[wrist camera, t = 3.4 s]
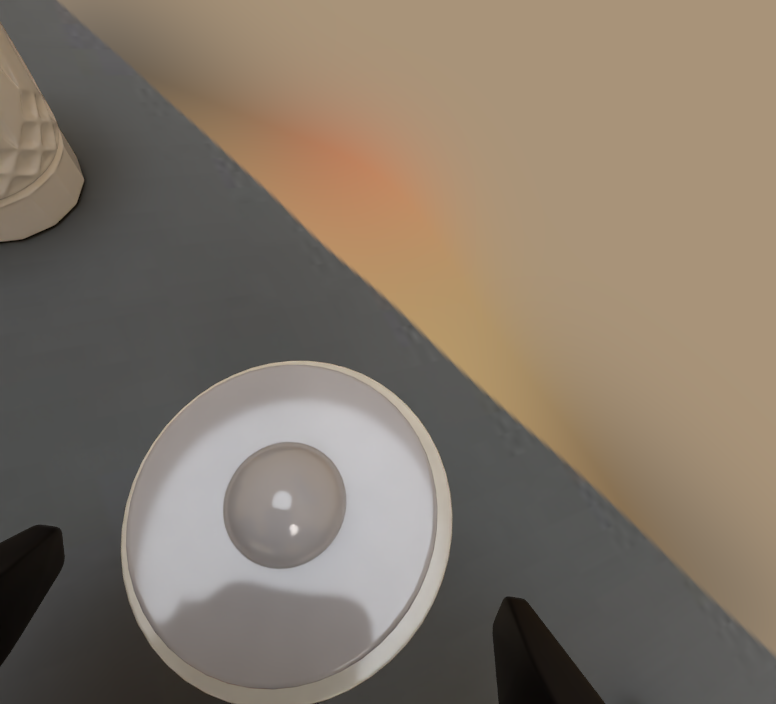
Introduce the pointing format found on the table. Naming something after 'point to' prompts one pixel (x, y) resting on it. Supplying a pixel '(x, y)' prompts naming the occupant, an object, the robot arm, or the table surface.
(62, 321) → the table surface
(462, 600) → the table surface
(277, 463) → the pepper mill
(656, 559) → the table surface
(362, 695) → the table surface
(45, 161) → the white cup
